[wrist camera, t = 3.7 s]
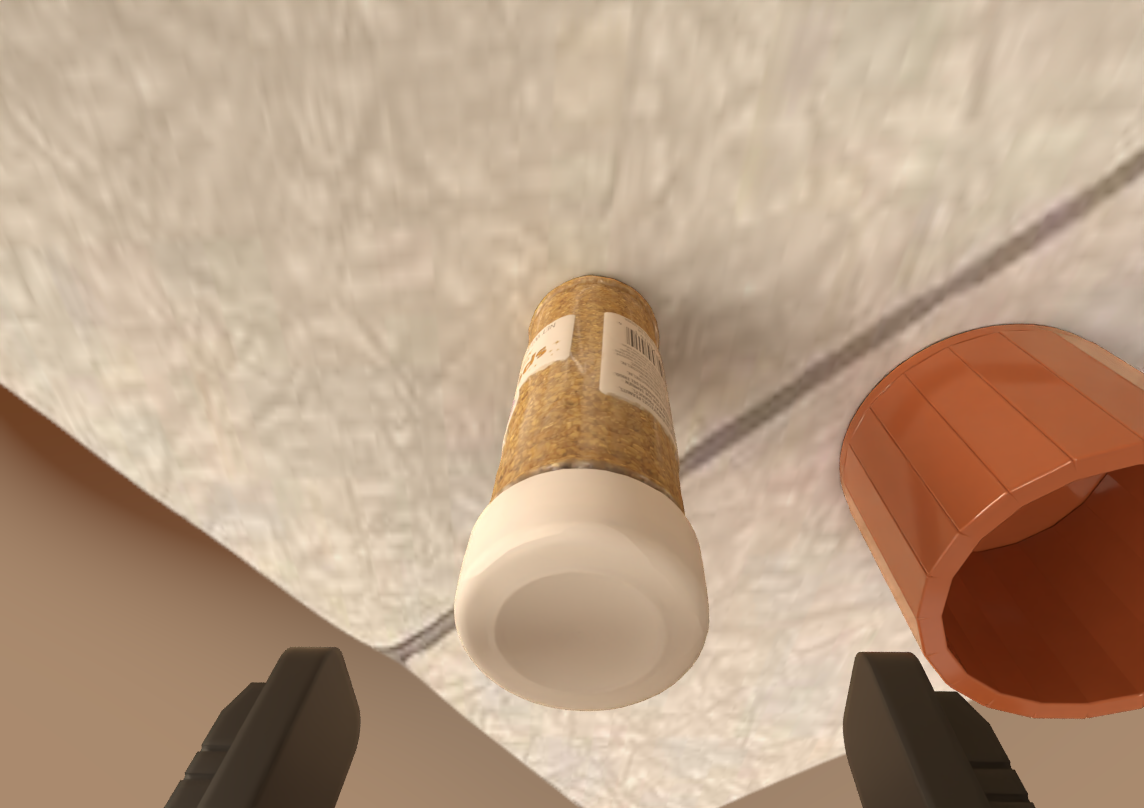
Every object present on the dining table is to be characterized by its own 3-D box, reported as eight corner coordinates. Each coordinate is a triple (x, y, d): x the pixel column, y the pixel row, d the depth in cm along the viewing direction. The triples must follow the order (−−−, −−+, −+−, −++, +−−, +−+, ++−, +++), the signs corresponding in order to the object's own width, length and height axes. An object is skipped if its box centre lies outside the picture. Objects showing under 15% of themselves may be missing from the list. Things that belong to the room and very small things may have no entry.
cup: (823, 555, 27) (890, 718, 21) (860, 328, 23) (961, 444, 16) (1080, 554, 27) (1233, 721, 20) (1171, 318, 22) (1412, 436, 15)
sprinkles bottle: (514, 288, 23) (409, 556, 11) (647, 258, 22) (690, 510, 10) (549, 404, 25) (492, 736, 13) (671, 380, 24) (730, 708, 12)
